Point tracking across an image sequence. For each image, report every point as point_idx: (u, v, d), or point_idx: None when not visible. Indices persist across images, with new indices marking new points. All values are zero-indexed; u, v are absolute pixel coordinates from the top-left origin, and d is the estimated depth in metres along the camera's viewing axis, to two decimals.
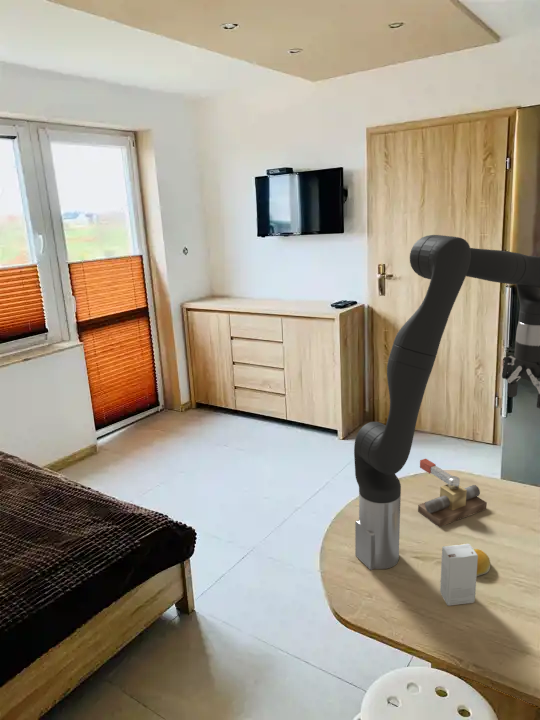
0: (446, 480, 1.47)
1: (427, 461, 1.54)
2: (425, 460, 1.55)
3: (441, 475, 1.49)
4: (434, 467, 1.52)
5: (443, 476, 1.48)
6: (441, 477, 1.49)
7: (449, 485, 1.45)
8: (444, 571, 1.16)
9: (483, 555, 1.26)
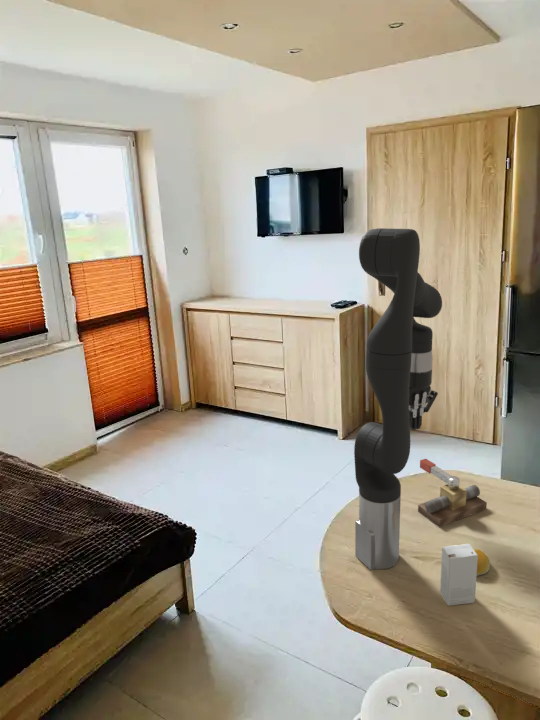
0: (446, 480, 1.47)
1: (427, 461, 1.54)
2: (425, 460, 1.55)
3: (441, 475, 1.49)
4: (434, 467, 1.52)
5: (443, 476, 1.48)
6: (441, 477, 1.49)
7: (449, 485, 1.45)
8: (444, 571, 1.16)
9: (483, 555, 1.26)
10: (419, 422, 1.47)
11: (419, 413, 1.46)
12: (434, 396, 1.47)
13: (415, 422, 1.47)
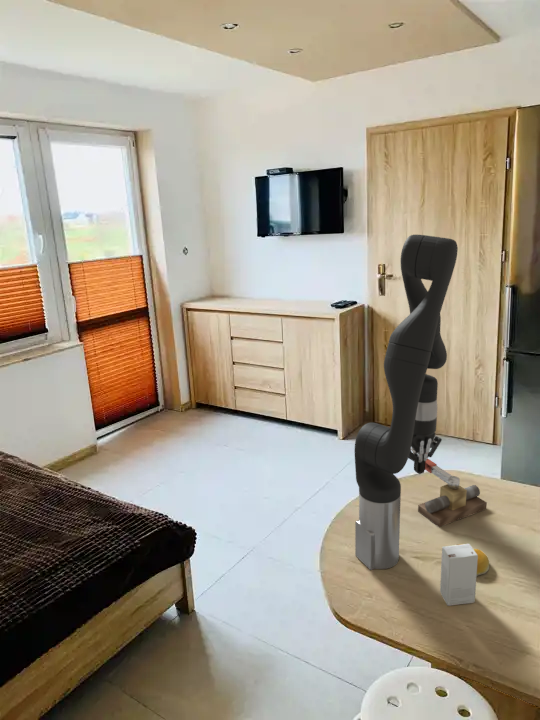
0: (446, 480, 1.47)
1: (428, 461, 1.55)
2: (426, 460, 1.55)
3: (441, 475, 1.49)
4: (435, 467, 1.52)
5: (443, 476, 1.48)
6: (441, 477, 1.49)
7: (449, 485, 1.46)
8: (444, 571, 1.16)
9: (482, 555, 1.26)
10: (423, 467, 1.52)
11: (423, 458, 1.52)
12: (438, 442, 1.52)
13: (421, 466, 1.52)
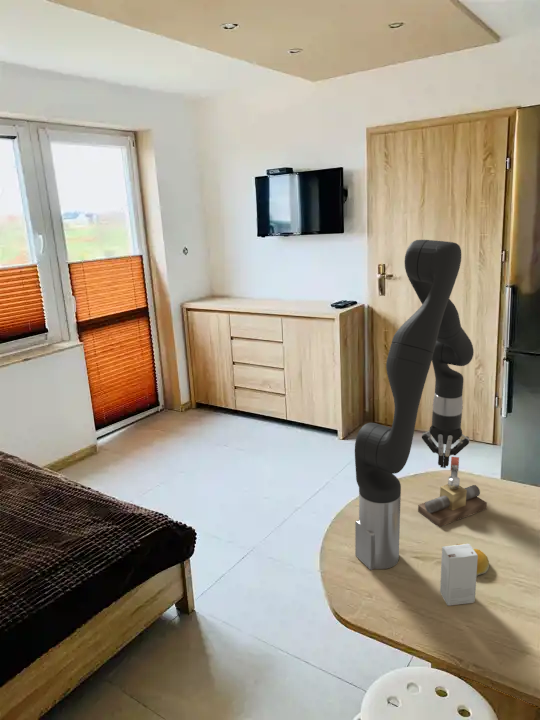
0: None
1: (455, 459, 1.55)
2: (455, 458, 1.55)
3: (451, 473, 1.49)
4: (454, 465, 1.52)
5: (451, 474, 1.49)
6: None
7: (448, 483, 1.46)
8: (444, 571, 1.16)
9: (482, 555, 1.26)
10: (444, 462, 1.55)
11: (445, 453, 1.54)
12: (464, 443, 1.51)
13: (441, 460, 1.55)
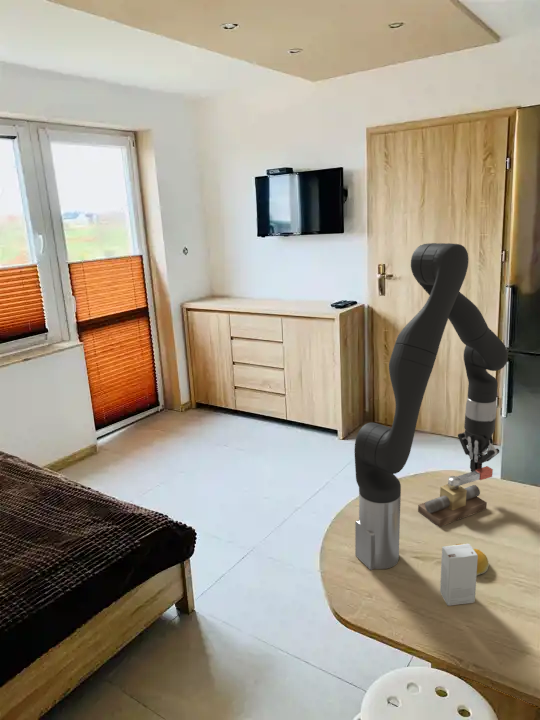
0: None
1: (485, 469, 1.49)
2: (488, 468, 1.49)
3: None
4: (475, 472, 1.48)
5: None
6: None
7: None
8: (444, 571, 1.16)
9: (481, 555, 1.26)
10: (473, 467, 1.51)
11: None
12: (489, 454, 1.45)
13: (472, 464, 1.52)
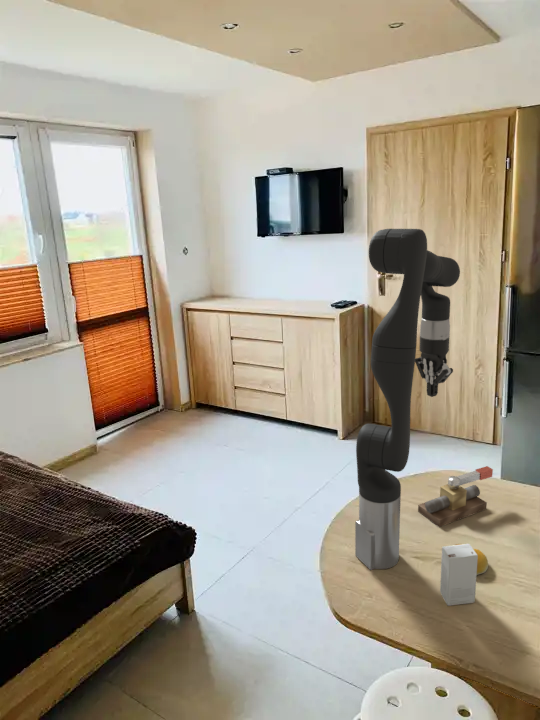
0: None
1: (485, 469, 1.49)
2: (488, 468, 1.49)
3: None
4: (475, 472, 1.48)
5: None
6: None
7: None
8: (444, 571, 1.16)
9: (481, 555, 1.26)
10: (429, 389, 1.52)
11: None
12: (443, 373, 1.46)
13: (428, 388, 1.53)
